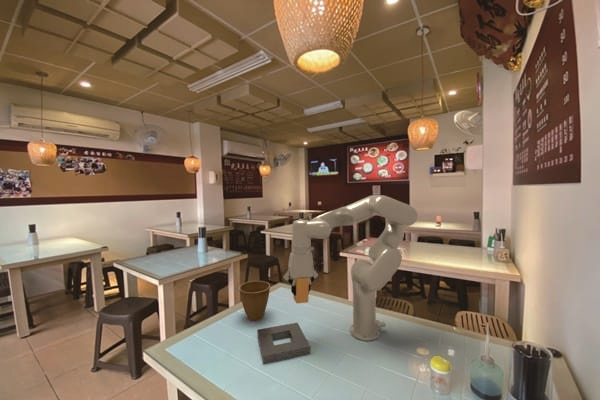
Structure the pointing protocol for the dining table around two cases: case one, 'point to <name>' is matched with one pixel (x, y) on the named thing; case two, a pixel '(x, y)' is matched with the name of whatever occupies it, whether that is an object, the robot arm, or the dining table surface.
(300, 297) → the orange rectangular block
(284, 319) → the dining table surface
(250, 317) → the plant pot
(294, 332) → the grey square frame
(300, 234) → the robot arm
